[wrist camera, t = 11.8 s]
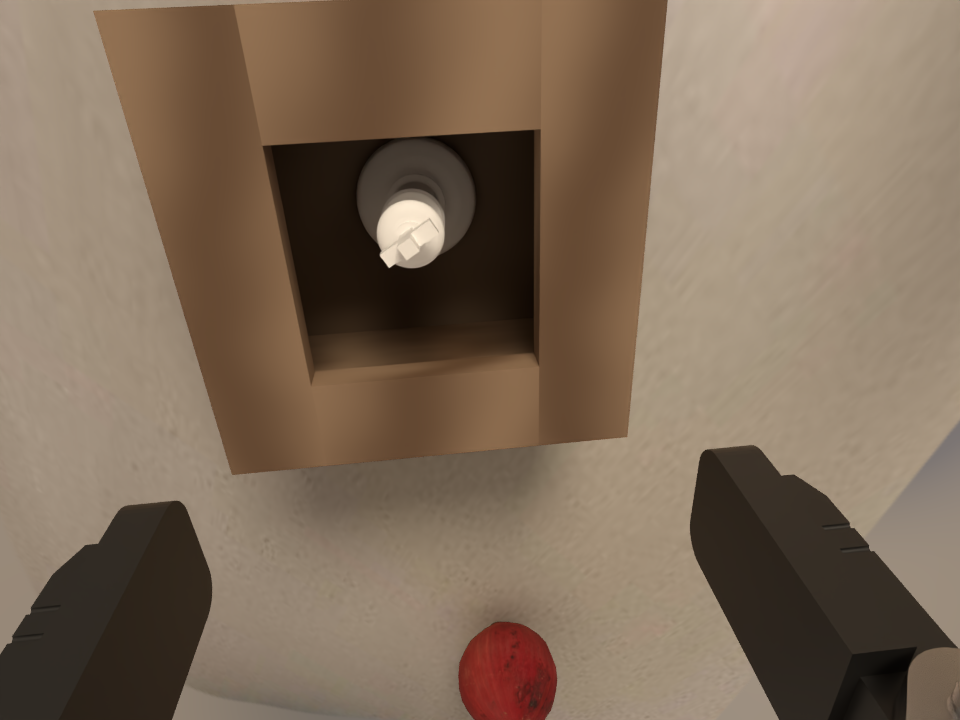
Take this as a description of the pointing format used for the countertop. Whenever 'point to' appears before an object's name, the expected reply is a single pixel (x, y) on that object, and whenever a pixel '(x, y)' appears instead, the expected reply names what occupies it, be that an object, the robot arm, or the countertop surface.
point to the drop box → (353, 252)
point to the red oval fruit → (507, 674)
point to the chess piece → (415, 200)
